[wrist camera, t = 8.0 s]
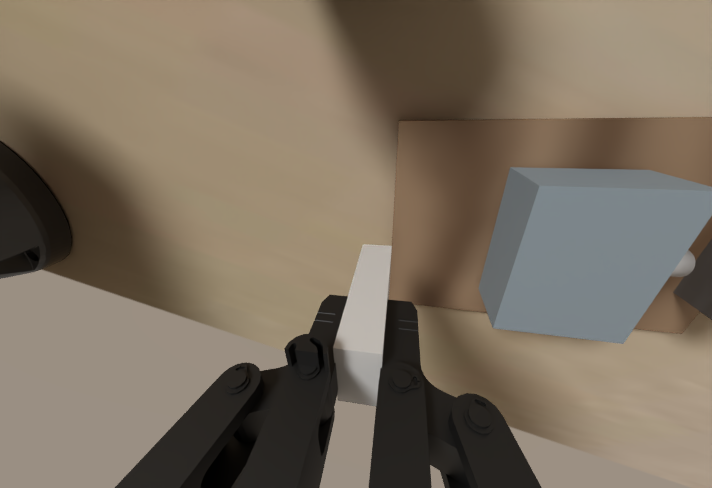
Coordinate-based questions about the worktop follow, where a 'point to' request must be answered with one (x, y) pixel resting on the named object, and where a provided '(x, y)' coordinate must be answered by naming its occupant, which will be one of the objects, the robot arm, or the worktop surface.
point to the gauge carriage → (588, 248)
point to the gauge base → (486, 187)
